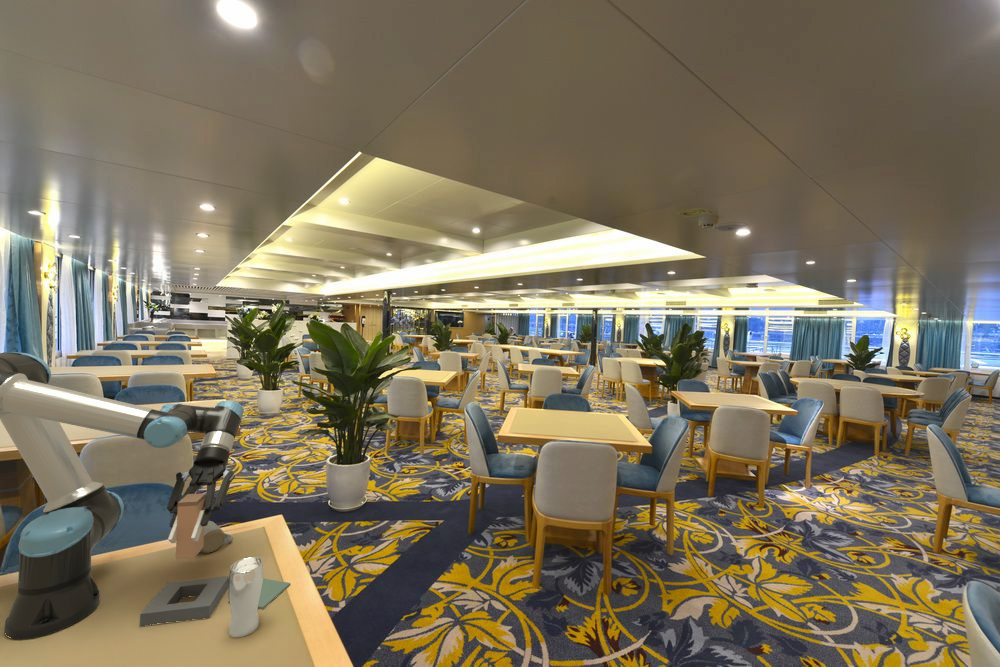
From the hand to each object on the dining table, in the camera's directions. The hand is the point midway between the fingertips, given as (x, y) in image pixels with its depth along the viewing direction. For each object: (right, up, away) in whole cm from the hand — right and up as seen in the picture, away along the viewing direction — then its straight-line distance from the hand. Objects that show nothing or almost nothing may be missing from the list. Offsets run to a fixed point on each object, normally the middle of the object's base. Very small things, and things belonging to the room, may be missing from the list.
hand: (183, 540), depth 98 cm
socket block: (-2, -18, +4) cm, 19 cm away
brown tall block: (-1, -5, +4) cm, 7 cm away
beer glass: (+16, -19, -3) cm, 26 cm away
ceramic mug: (-15, -18, +30) cm, 38 cm away
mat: (+13, -19, +9) cm, 25 cm away
